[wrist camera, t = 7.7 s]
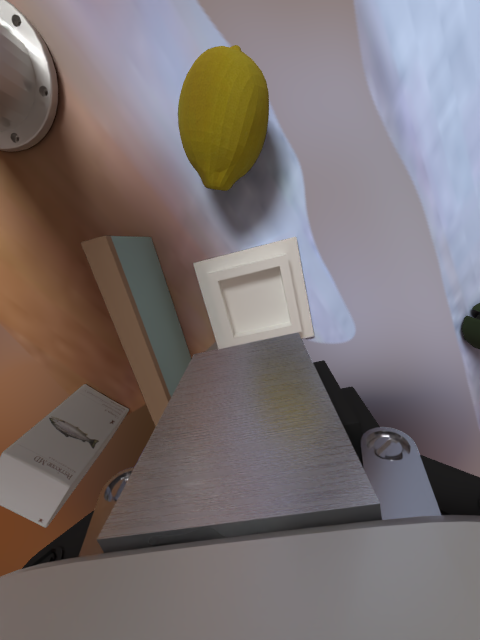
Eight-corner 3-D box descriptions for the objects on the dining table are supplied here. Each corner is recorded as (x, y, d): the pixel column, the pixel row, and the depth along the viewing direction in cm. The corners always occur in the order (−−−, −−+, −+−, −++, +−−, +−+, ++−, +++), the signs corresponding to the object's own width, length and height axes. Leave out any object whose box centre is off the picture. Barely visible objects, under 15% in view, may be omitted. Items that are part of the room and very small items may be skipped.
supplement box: (131, 408, 37) (72, 489, 25) (109, 441, 39) (44, 532, 27) (85, 381, 36) (0, 451, 24) (64, 417, 38) (-23, 498, 26)
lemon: (206, 63, 25) (185, -15, 17) (282, 94, 25) (295, 30, 18) (177, 182, 28) (148, 160, 20) (245, 207, 28) (241, 196, 21)
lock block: (193, 354, 12) (96, 539, 5) (298, 332, 12) (379, 503, 4) (221, 438, 14) (180, 687, 6) (316, 422, 13) (401, 676, 6)
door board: (134, 241, 30) (80, 242, 21) (151, 236, 30) (105, 235, 21) (186, 389, 36) (161, 442, 26) (201, 386, 35) (182, 438, 26)
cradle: (194, 262, 30) (190, 264, 29) (295, 236, 29) (298, 236, 27) (220, 354, 34) (218, 360, 32) (313, 334, 32) (316, 340, 30)
